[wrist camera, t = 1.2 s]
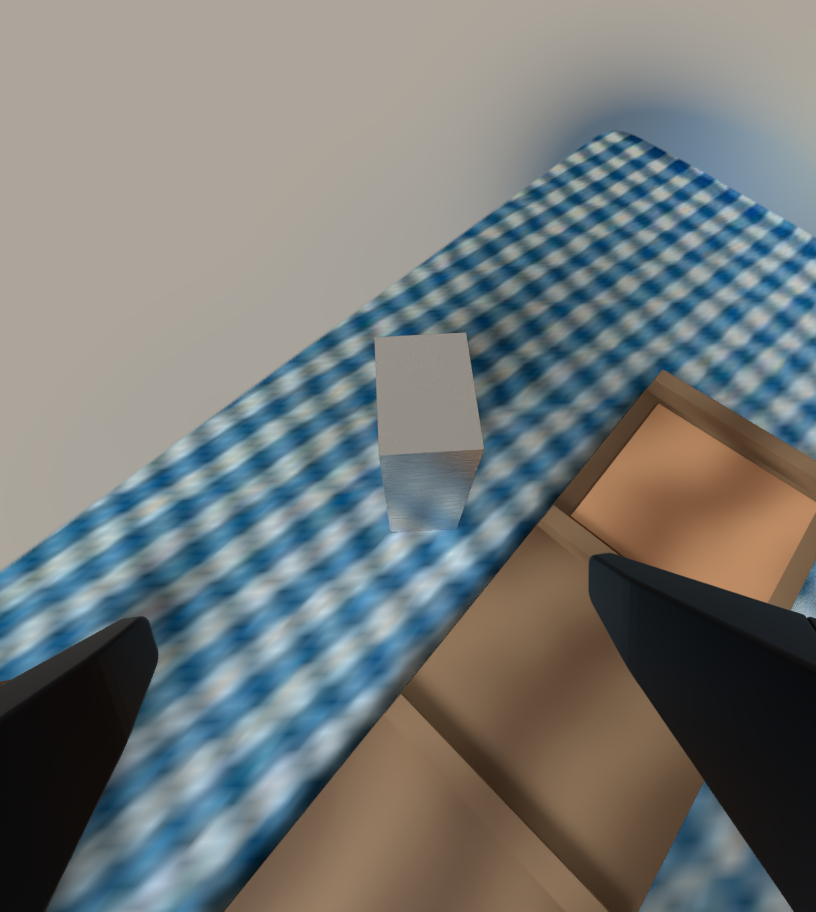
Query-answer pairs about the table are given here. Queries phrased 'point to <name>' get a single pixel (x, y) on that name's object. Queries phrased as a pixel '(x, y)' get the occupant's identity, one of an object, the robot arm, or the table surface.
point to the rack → (553, 693)
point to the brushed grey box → (426, 429)
